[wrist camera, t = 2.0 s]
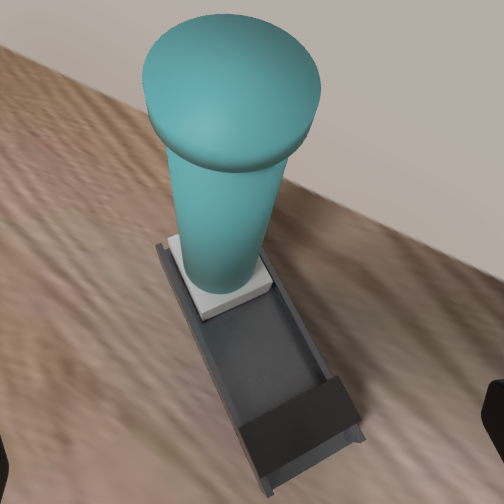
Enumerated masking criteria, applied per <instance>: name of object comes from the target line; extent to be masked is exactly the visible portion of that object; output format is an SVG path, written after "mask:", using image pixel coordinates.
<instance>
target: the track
mask: <svg viewBox="0 0 504 504" xmlns="http://www.w3.org/2000/svg"><path fill="white" fill-rule="evenodd" d="M155 246H156V249H157V253H158V256H159V260H160V262H161V264H162V267H163V269H164V271H165V274H166V276H167V278H168V280H169V283H170V285H171V287H172V289H173V292H174V294H175V296H176V298H177V301H178V303H179V305H180V307H181V310H182V312H183V314H184V316H185V319H186V321H187V323H188V326H189V328H190V330H191V332H192V335H193V337H194V339H195V341H196V344H197V346H198V348H199V350H200V353H201V355H202V357H203V359H204V362H205V364H206V366H207V368H208V371H209V373H210V375H211V378H212V380H213V382H214V384H215V387H216V389H217V391H218V393H219V396H220V398H221V400H222V402H223V405H224V407H225V409H226V411H227V414H228V416H229V418H230V421H231V423H232V425H233V427H234V430H235V432H236V434H237V436H238V439H239V441H240V443H241V445H242V448H243V450H244V452H245V454H246V457H247V459H248V461H249V463H250V466H251V468H252V470H253V473H254V475H255V477H256V479H257V482H258V484H259V486H260V488H261V491H262V492H263V493H264V494H265V496H266V497H267V498H269V497H270V496H272V495H274V493H273V489H275V488H276V487H278V486H280V485H281V484H283V483H285V482H286V481H288V480H290V479H292V478H293V477H295V476H297V475H298V474H300V473H302V472H303V471H305V470H307V469H308V468H310V467H312V466H314V465H315V464H317V463H319V462H320V461H322V460H324V459H325V458H327V457H329V456H330V455H332V454H334V453H336V452H337V451H339V450H341V449H342V448H344V447H346V446H347V445H349V444H351V443H352V442H355V443H361V442H363V441H365V440H366V439H365V437H364V435H363V433H362V431H361V429H360V427H359V425H358V424H357V423H358V422H360V421H362V419H361V417H360V416H359V414H358V412H357V410H356V408H355V406H354V404H353V403H352V401H351V399H350V397H349V395H348V393H347V392H346V390H345V388H344V386H343V384H342V382H341V380H340V379H339V377H338V376H336V377H332V375H331V373H330V371H329V370H328V368H327V366H326V364H325V362H324V360H323V358H322V356H321V355H320V353H319V351H318V349H317V347H316V345H315V343H314V342H313V340H312V338H311V336H310V334H309V332H308V330H307V328H306V327H305V325H304V323H303V321H302V319H301V317H300V315H299V314H298V312H297V310H296V308H295V306H294V304H293V302H292V300H291V299H290V297H289V295H288V293H287V291H286V289H285V287H284V286H283V284H282V282H281V280H280V278H279V276H278V274H277V272H276V271H275V269H274V267H273V265H272V263H271V261H270V259H269V258H268V256H267V254H266V252H265V250H264V248H263V246H262V247H261V250H260V253H259V256H260V258H261V260H262V262H263V263H264V265H265V267H266V269H267V271H268V273H269V275H270V277H271V279H272V280H273V282H272V285H271V287H270V289H269V291H268V292H266V293H264V294H262V295H260V296H257V297H255V298H253V299H251V300H249V301H246V302H244V303H242V304H240V305H238V306H235V307H233V308H231V309H229V310H227V311H224V312H222V313H220V314H218V315H216V316H213V317H211V318H209V319H207V320H205V321H202V320H201V318H200V316H199V314H198V311H197V309H196V307H195V305H194V303H193V300H192V298H191V296H190V294H189V292H188V289H187V287H186V285H185V283H184V281H183V278H182V276H181V274H180V272H179V270H178V267H177V265H176V263H175V261H174V259H173V256H172V254H171V252H170V248H169V249H166V250H164V248H163V246H162V244H161V243H160V244H157V245H155Z"/></svg>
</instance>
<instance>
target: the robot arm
mask: <svg viewBox="0 0 504 504" xmlns="http://www.w3.org/2000/svg"><path fill="white" fill-rule="evenodd" d="M481 418H482V422H483V425H484V427H485V429H486V431H487V433H488V435H489V437H490V439H491V440H492V442H493V444H494V446H495V448H496V450H497V452H498V453H499V455H500V457H501V459H502V461H503V463H504V379H499V380H493V381H492V382H491V383H490V384H489V386H488V389H487V393H486V396H485V400H484V403H483V407H482V411H481ZM8 473H9V463H8V459H7V455H6V452H5V449H4V445H3V442H2V439H1V436H0V503H1V500H2V496H3V493H4V489H5V486H6V482H7V478H8Z"/></svg>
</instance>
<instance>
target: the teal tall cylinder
mask: <svg viewBox="0 0 504 504" xmlns="http://www.w3.org/2000/svg"><path fill="white" fill-rule="evenodd" d="M142 81H143V89H144V94H145V99H146V104H147V110H148V115H149V119H150V121H151V124H152V126H153V129H154V130H155V132H156V134H157V135H158V137H159V138H160V139H161V140H162V142H163V143H164V144H165V145H166V150H167V157H168V163H169V170H170V177H171V184H172V191H173V197H174V204H175V211H176V218H177V225H178V231H179V234H177V235H174V236H172V237H169V238H167V239H168V243H169V248H170V252H171V254H172V256H173V259H174V261H175V263H176V265H177V267H178V270H179V272H180V274H181V276H182V278H183V281H184V283H185V285H186V287H187V289H188V292H189V294H190V296H191V298H192V300H193V303H194V305H195V307H196V309H197V311H198V314H199V316H200V318H201V320H202V321H205V320H207V319H209V318H211V317H213V316H216V315H218V314H220V313H222V312H224V311H227V310H229V309H231V308H233V307H235V306H238V305H240V304H242V303H244V302H246V301H249V300H251V299H253V298H255V297H257V296H260V295H262V294H264V293H266V292H268V291H269V289H270V287H271V285H272V282H273V280H272V279H271V277H270V275H269V273H268V271H267V269H266V267H265V265H264V263H263V262H262V260H261V258H260V256H259V253H260V250H261V247H262V243H263V240H264V237H265V233H266V230H267V227H268V223H269V220H270V217H271V213H272V210H273V207H274V203H275V200H276V197H277V193H278V190H279V187H280V183H281V180H282V177H283V173H284V170H285V167H286V163H287V160H288V157H289V156H290V155H291V154H292V153H293V152H295V151H296V150H297V149H298V148H299V146H300V145H301V144H302V143H303V141H304V140H305V138H306V137H307V134H308V132H309V130H310V127H311V124H312V121H313V119H314V116H315V113H316V110H317V107H318V103H319V100H320V93H321V84H320V77H319V73H318V70H317V67H316V65H315V62H314V61H313V59H312V57H311V56H310V54H309V53H308V51H307V50H306V49H305V48H304V47H303V46H302V45H301V44H300V43H299V42H298V41H297V40H296V39H295V38H294V37H292V36H291V35H290V34H289V33H287V32H285V31H284V30H282V29H281V28H279V27H277V26H274V25H273V24H271V23H268V22H265V21H263V20H260V19H256V18H253V17H248V16H243V15H234V14H215V15H206V16H201V17H197V18H194V19H190V20H188V21H185V22H183V23H181V24H178V25H177V26H175V27H173V28H171V29H170V30H169V31H167V32H166V33H165V34H163V35H162V36H161V37H160V38H159V39H158V40H157V41H156V42H155V44H154V45H153V46H152V48H151V49H150V51H149V53H148V55H147V57H146V60H145V63H144V66H143V73H142Z"/></svg>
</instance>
